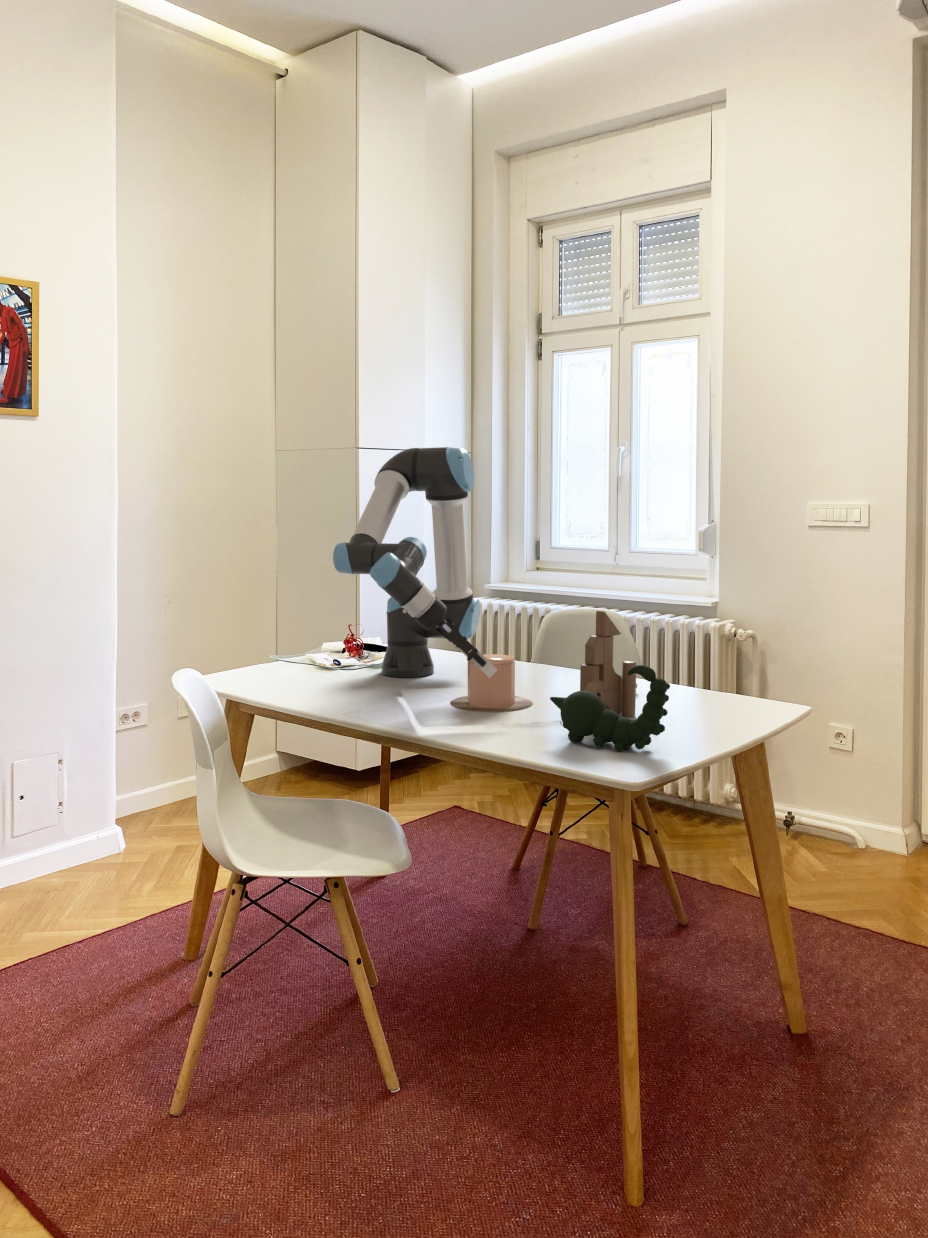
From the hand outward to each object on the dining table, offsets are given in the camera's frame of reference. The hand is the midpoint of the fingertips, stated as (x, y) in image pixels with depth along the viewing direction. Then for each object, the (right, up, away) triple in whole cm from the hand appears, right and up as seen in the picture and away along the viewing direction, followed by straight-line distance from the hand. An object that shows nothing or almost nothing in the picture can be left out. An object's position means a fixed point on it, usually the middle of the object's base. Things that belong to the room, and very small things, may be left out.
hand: (487, 668), depth 230 cm
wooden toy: (+27, -11, -7) cm, 30 cm away
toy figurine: (+24, -15, -32) cm, 43 cm away
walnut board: (+1, -10, +2) cm, 10 cm away
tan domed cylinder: (+1, -8, +2) cm, 9 cm away
